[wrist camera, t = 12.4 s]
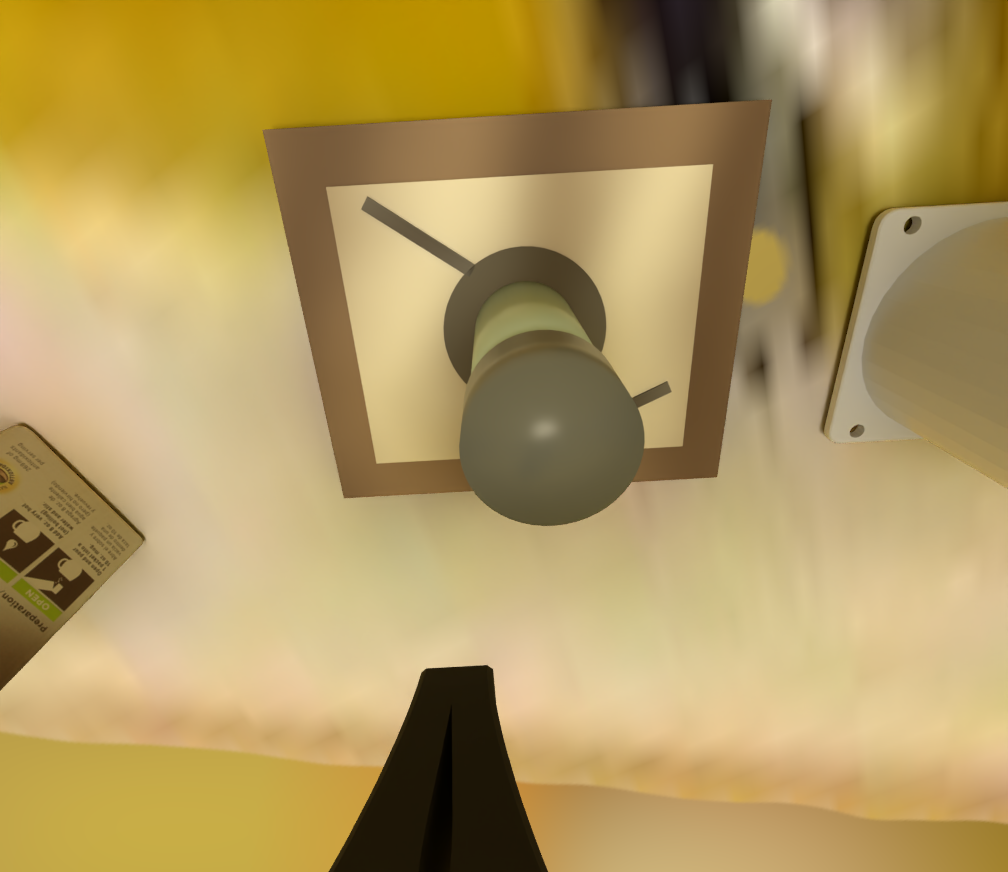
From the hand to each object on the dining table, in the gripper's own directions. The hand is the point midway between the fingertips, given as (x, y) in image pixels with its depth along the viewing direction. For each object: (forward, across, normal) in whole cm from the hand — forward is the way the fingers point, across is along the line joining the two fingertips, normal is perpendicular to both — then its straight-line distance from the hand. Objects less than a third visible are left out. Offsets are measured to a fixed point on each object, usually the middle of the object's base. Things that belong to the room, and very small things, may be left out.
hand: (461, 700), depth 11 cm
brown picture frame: (+10, -2, -5) cm, 12 cm away
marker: (+9, -2, -5) cm, 11 cm away
